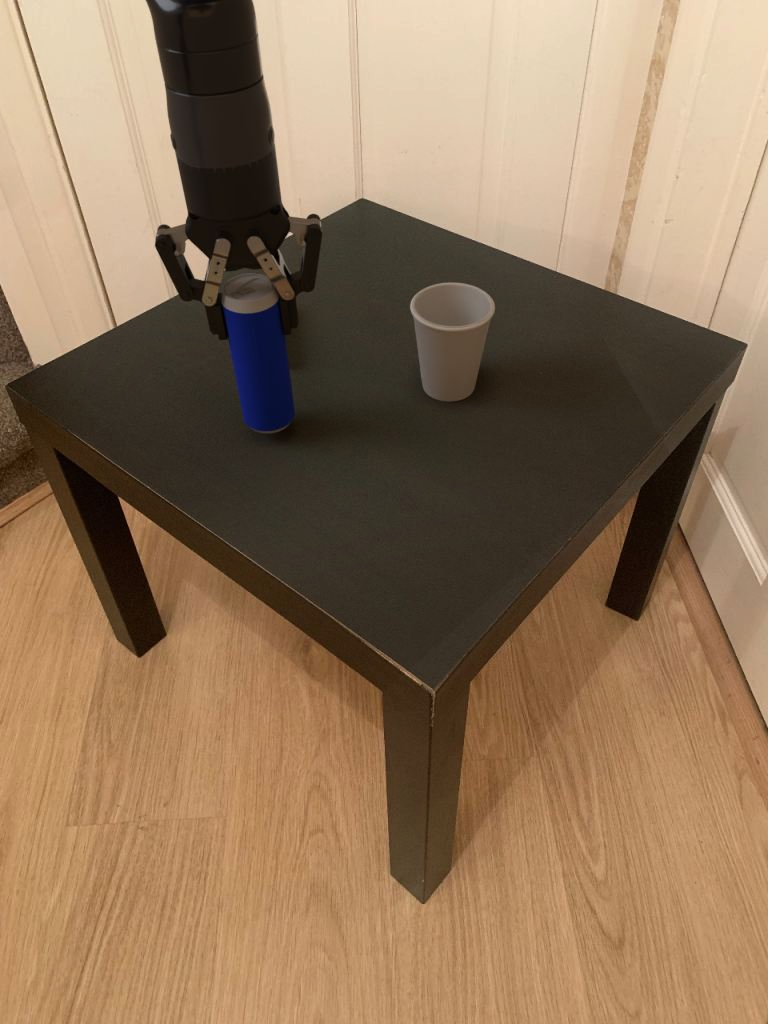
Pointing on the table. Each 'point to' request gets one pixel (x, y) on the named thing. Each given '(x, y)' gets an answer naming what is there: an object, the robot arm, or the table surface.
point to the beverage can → (258, 351)
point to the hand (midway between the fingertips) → (255, 331)
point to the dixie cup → (451, 337)
